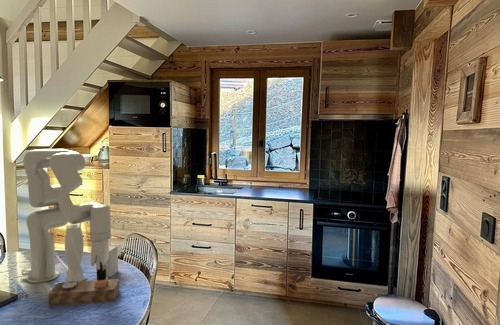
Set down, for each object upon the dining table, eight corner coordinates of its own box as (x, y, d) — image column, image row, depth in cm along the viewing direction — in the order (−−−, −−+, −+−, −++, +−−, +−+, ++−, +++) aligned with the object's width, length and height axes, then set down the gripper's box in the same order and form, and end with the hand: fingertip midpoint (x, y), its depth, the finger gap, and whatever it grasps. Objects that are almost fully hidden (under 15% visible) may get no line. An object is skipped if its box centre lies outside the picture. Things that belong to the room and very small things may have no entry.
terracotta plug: (92, 297, 131) (92, 282, 130) (96, 291, 136) (96, 276, 135) (106, 296, 132) (106, 281, 131) (109, 290, 137) (109, 276, 136)
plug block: (48, 306, 126) (48, 294, 125) (58, 294, 135) (58, 282, 135) (114, 301, 130) (114, 289, 130) (119, 290, 140) (119, 278, 140)
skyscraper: (90, 279, 150) (88, 219, 148) (75, 286, 143) (74, 223, 141) (75, 276, 153) (74, 218, 151) (60, 283, 145) (59, 222, 143)
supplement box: (118, 271, 160) (118, 245, 159) (110, 277, 153) (110, 251, 152) (104, 270, 161) (103, 245, 160) (95, 276, 153) (95, 250, 153)
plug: (60, 302, 129) (59, 287, 128) (65, 296, 134) (64, 281, 133) (74, 301, 130) (74, 286, 129) (78, 295, 135) (78, 280, 134)
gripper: (95, 230, 139) (96, 272, 140) (85, 241, 124) (86, 288, 125) (114, 229, 140) (115, 271, 141) (105, 240, 125) (107, 286, 127)
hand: (101, 279), depth 133 cm, fingers closed
